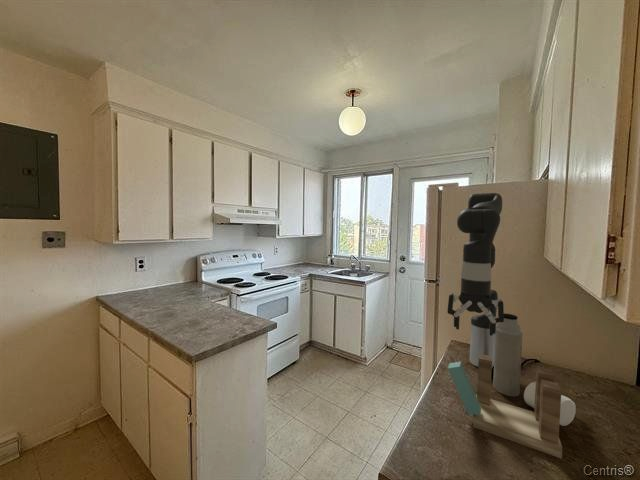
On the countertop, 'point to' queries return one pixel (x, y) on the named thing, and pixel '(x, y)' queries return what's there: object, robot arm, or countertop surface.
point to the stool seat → (521, 412)
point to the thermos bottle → (507, 356)
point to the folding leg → (464, 388)
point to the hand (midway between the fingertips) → (473, 331)
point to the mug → (565, 409)
